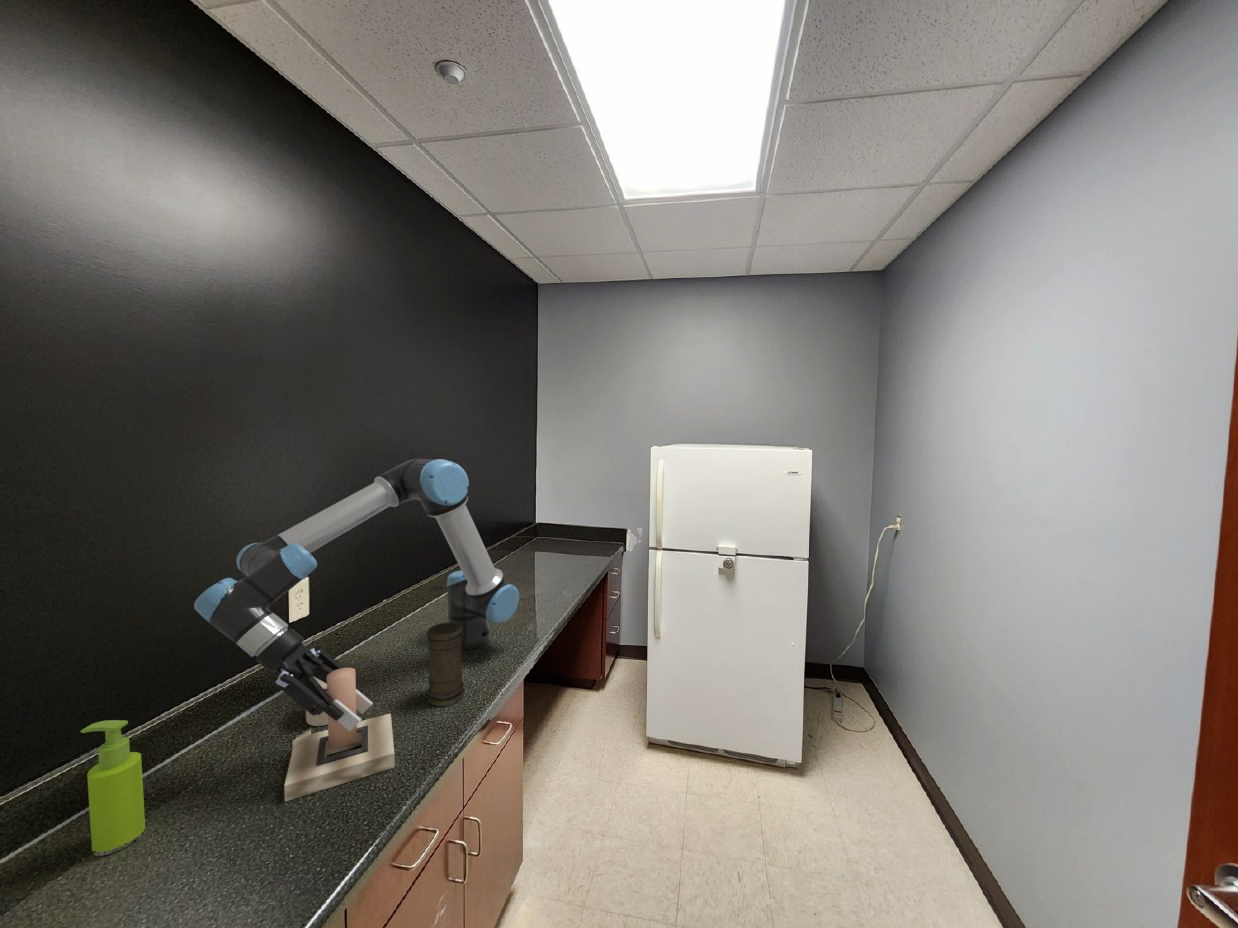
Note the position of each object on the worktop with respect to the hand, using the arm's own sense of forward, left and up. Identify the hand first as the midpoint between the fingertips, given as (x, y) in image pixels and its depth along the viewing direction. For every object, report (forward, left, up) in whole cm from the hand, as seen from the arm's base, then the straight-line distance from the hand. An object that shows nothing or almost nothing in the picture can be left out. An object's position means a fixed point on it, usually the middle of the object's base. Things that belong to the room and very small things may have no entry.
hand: (361, 716), depth 94 cm
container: (-19, -15, -9) cm, 26 cm away
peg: (+3, -1, -5) cm, 6 cm away
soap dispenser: (+35, +3, -9) cm, 37 cm away
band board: (+3, -1, -9) cm, 10 cm away
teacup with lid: (+8, -21, -9) cm, 25 cm away
